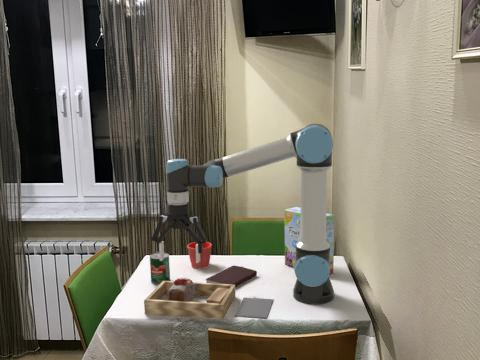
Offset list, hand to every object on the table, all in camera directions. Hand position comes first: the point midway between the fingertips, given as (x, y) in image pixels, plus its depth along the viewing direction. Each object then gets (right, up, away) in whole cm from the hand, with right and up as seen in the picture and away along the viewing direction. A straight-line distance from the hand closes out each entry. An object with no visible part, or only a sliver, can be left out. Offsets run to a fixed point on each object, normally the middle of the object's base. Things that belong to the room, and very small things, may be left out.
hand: (179, 260), depth 185 cm
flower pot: (+4, -10, +45) cm, 46 cm away
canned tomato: (-11, -13, +27) cm, 32 cm away
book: (+18, -13, +26) cm, 35 cm away
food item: (0, -17, +3) cm, 17 cm away
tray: (+4, -16, +2) cm, 17 cm away
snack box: (+51, -10, +38) cm, 64 cm away
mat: (+27, -17, -2) cm, 32 cm away
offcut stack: (+14, -17, 0) cm, 22 cm away
